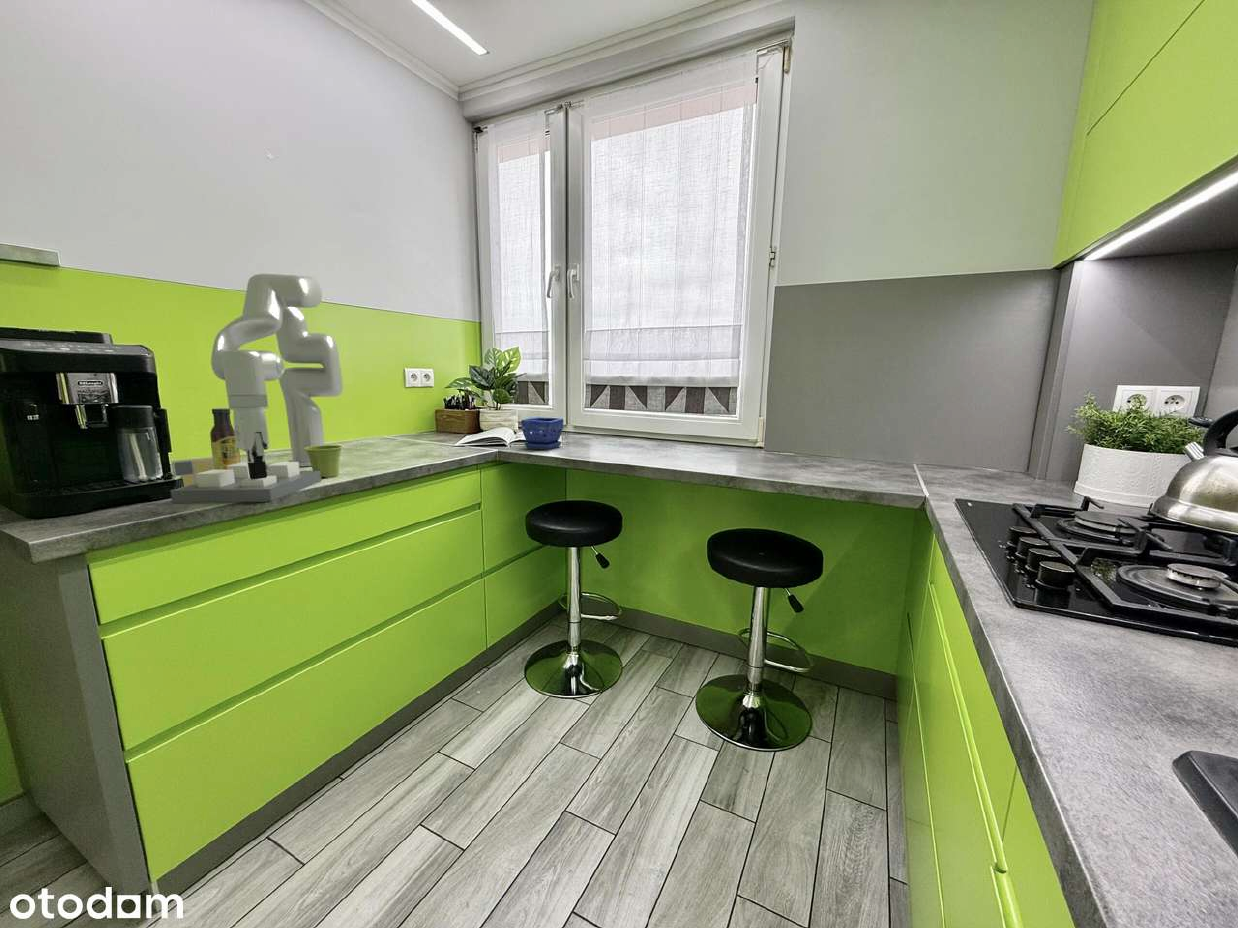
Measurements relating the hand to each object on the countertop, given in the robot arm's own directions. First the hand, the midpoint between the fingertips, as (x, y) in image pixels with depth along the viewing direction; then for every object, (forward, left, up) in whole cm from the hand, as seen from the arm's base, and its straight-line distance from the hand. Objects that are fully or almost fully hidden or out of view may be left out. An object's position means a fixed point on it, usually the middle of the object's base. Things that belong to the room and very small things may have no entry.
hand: (258, 477), depth 118 cm
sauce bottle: (-24, -24, -5) cm, 34 cm away
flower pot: (-75, +63, -5) cm, 98 cm away
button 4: (-10, 0, -2) cm, 10 cm away
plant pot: (-23, +4, -5) cm, 24 cm away
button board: (-5, -5, -5) cm, 9 cm away
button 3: (0, 0, -4) cm, 4 cm away
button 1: (0, -10, -2) cm, 10 cm away
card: (-8, -21, -5) cm, 23 cm away
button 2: (-10, -10, -2) cm, 14 cm away
